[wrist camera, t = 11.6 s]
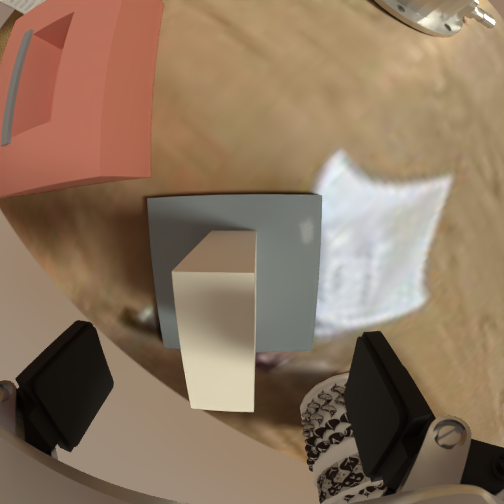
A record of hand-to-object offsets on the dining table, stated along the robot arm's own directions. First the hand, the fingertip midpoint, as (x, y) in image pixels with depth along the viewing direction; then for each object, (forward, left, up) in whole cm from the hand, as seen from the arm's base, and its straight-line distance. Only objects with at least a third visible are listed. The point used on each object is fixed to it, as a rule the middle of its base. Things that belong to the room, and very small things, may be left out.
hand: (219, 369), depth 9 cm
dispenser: (+12, -15, -12) cm, 23 cm away
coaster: (0, +1, -12) cm, 12 cm away
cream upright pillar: (0, +1, -11) cm, 11 cm away
